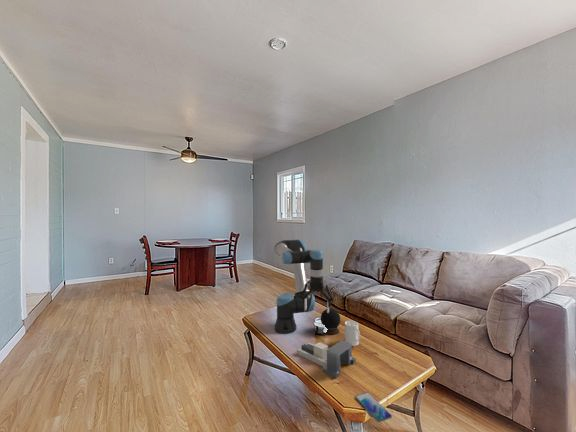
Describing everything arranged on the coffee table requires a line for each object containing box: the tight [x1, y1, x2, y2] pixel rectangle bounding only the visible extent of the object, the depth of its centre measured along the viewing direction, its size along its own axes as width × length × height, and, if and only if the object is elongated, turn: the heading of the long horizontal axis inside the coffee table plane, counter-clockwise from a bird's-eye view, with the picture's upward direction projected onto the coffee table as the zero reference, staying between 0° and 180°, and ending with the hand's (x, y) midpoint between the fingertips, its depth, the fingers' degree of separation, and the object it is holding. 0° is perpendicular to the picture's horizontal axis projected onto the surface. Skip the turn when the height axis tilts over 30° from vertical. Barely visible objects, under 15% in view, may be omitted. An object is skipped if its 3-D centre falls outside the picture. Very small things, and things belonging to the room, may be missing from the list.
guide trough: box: [296, 342, 327, 368], centre depth 146 cm, size 22×11×2 cm, turn 46°
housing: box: [321, 339, 357, 379], centre depth 137 cm, size 8×19×10 cm, turn 136°
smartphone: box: [354, 391, 393, 423], centre depth 108 cm, size 7×1×15 cm
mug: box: [344, 320, 362, 347], centre depth 160 cm, size 12×8×12 cm
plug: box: [301, 342, 329, 361], centre depth 148 cm, size 16×5×7 cm, turn 46°
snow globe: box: [320, 307, 341, 336], centre depth 178 cm, size 13×13×15 cm
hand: (316, 310), depth 158 cm, fingers open, 13 cm apart
